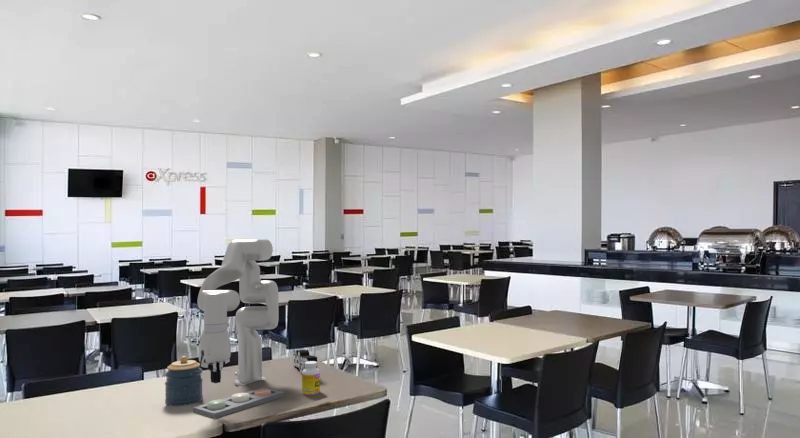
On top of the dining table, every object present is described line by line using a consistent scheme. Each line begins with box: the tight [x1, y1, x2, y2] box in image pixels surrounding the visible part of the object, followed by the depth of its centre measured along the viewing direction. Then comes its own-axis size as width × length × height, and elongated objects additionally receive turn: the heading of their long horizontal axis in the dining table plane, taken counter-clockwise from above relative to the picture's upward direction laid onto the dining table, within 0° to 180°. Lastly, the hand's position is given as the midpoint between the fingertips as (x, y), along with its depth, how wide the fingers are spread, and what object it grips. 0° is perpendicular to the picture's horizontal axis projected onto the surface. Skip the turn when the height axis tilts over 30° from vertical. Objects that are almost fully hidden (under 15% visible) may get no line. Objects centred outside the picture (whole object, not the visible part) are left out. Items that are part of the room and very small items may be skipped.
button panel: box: [192, 387, 285, 419], centre depth 200 cm, size 30×12×3 cm, turn 143°
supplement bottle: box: [301, 361, 321, 396], centre depth 213 cm, size 7×7×13 cm
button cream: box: [231, 392, 249, 403], centre depth 200 cm, size 6×6×3 cm
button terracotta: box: [254, 389, 271, 397], centre depth 208 cm, size 6×6×3 cm
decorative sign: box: [292, 349, 318, 375], centre depth 250 cm, size 32×4×10 cm, turn 22°
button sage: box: [206, 399, 226, 411], centre depth 192 cm, size 6×6×3 cm
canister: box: [164, 355, 204, 407], centre depth 206 cm, size 13×13×18 cm
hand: (215, 382), depth 192 cm, fingers closed
